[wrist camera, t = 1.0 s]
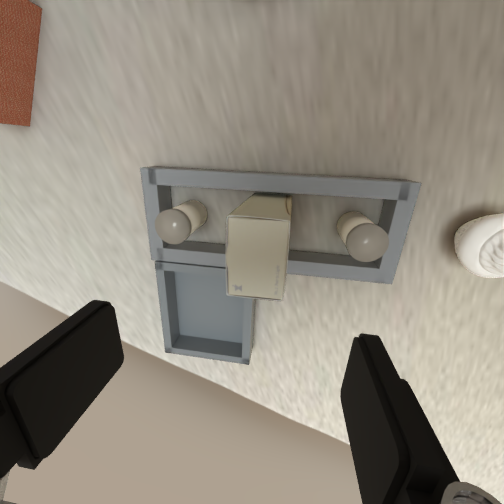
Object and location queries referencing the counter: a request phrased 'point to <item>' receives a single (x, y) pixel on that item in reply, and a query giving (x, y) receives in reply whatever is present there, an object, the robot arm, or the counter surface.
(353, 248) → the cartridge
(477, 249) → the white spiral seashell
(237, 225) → the skincare box
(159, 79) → the counter surface
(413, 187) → the grey rectangular frame
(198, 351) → the tray
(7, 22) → the house
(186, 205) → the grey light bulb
